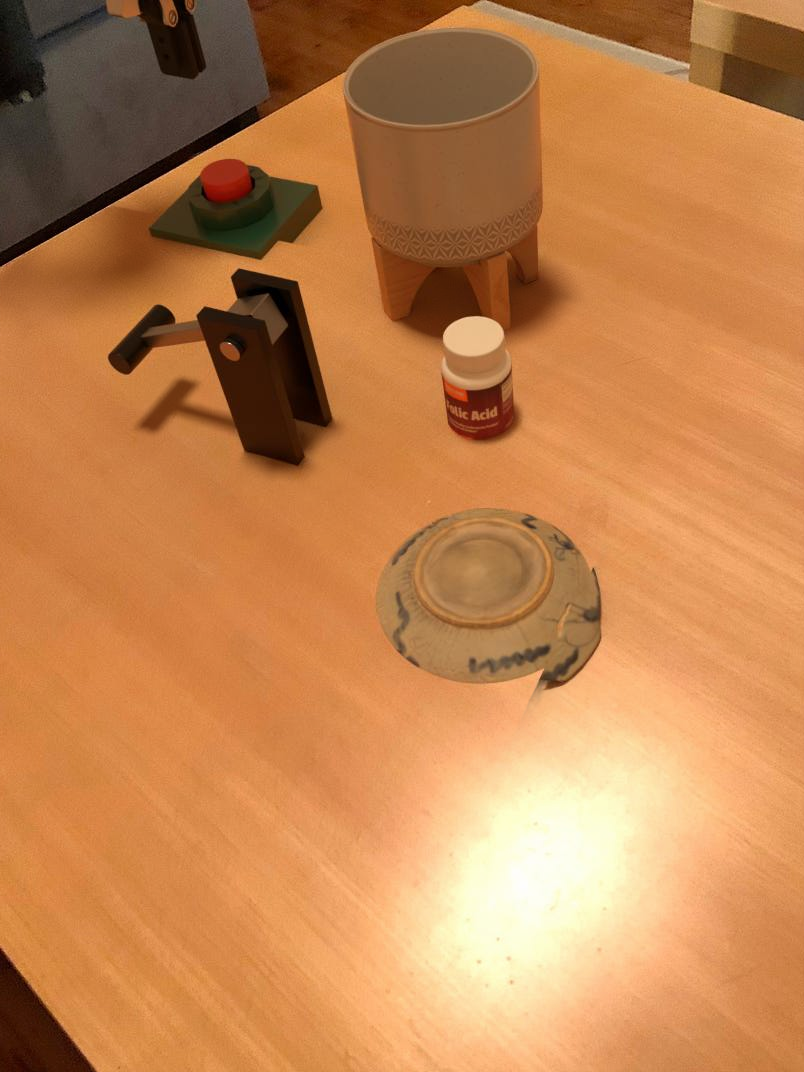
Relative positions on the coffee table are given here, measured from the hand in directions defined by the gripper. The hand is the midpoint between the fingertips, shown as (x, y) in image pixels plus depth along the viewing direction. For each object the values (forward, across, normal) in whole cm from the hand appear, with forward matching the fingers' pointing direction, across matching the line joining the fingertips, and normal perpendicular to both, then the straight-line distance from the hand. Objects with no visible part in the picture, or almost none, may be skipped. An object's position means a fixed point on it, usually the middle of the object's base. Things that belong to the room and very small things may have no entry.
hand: (184, 71), depth 80 cm
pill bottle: (+13, +15, +31) cm, 37 cm away
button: (+10, -1, +1) cm, 10 cm away
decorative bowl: (+13, +30, +38) cm, 50 cm away
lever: (+6, +22, +14) cm, 27 cm away
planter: (+13, +2, +24) cm, 27 cm away
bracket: (+14, +22, +19) cm, 32 cm away
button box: (+14, -1, +1) cm, 14 cm away
